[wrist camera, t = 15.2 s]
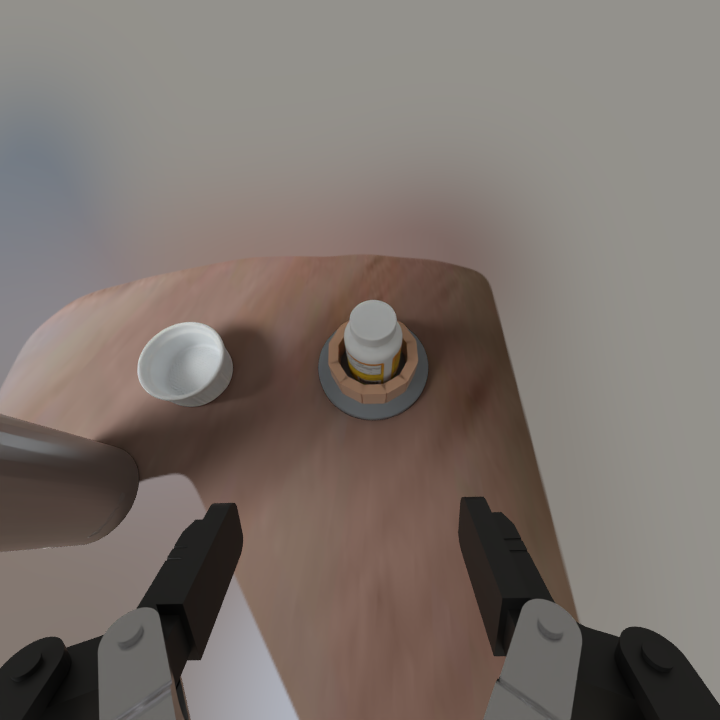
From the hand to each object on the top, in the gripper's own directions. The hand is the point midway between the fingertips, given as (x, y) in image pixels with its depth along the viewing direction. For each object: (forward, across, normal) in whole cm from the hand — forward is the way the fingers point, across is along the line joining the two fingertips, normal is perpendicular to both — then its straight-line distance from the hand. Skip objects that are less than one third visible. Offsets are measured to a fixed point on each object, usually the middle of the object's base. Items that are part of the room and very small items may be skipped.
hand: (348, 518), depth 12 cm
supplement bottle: (+26, -2, +4) cm, 26 cm away
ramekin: (+27, +18, +5) cm, 33 cm away
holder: (+26, -2, +5) cm, 27 cm away
